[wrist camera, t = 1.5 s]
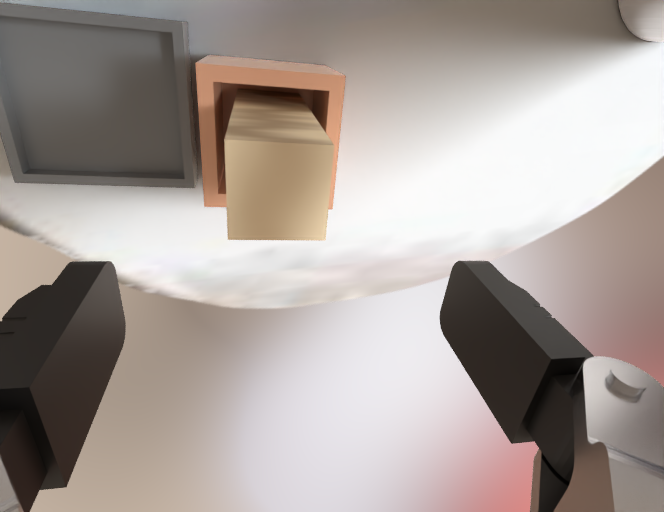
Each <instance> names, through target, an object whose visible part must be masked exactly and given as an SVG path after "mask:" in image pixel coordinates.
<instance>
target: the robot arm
mask: <svg viewBox="0 0 664 512" xmlns="http://www.w3.org/2000/svg"><path fill="white" fill-rule="evenodd" d="M618 2H619V9H620V13H621V17H622V20H623V21H624V23H625V25H626V27H627V28H628V30H630V31H631V32H632V33H633V34H634V35H635V36H636V37H638V38H641V39H643V40H645V41H654V42H664V0H618ZM551 316H552V315H551V314H550V313H549V312H548V311H546V310H545V309H544V308H543V307H540V304H539V303H538V302H537V301H536V300H535V299H534V298H533V297H532V296H531V295H530V294H529V293H528V292H527V291H525V290H524V289H522V288H520V287H519V286H517V285H515V284H514V283H512V282H510V281H508V280H507V279H506V278H505V277H504V276H503V275H502V274H501V273H500V272H499V271H498V270H497V269H496V268H495V267H494V266H493V265H492V264H491V263H490V262H488V261H458V262H456V263H455V264H454V266H453V268H452V271H451V274H450V278H449V282H448V286H447V289H446V292H445V296H444V300H443V304H442V307H441V311H440V325H441V329H442V332H443V335H444V336H445V338H446V340H447V341H448V343H449V344H450V346H451V348H452V349H453V351H454V352H455V354H456V355H457V357H458V359H459V360H460V362H461V363H462V365H463V367H464V368H465V370H466V372H467V373H468V375H469V376H470V378H471V380H472V381H473V383H474V384H475V386H476V388H477V389H478V391H479V392H480V394H481V396H482V397H483V399H484V400H485V402H486V404H487V405H488V407H489V409H490V410H491V412H492V413H493V415H494V417H495V418H496V420H497V421H498V423H499V425H500V426H501V428H502V429H503V431H504V433H505V434H506V436H507V437H508V439H509V441H510V442H511V443H512V444H513V443H522V442H532V441H535V443H536V444H537V446H538V447H539V449H538V451H537V454H536V455H535V457H534V465H533V479H532V492H531V506H530V512H664V387H663V386H662V385H661V384H660V383H658V381H656V380H655V379H654V378H653V377H651V376H650V375H649V374H647V373H646V372H644V371H643V370H641V369H639V368H637V367H635V366H633V365H631V364H629V363H627V362H624V361H621V360H618V359H615V358H610V357H602V356H596V357H594V356H593V355H592V354H591V353H590V352H589V351H588V350H587V349H586V348H585V347H584V346H583V345H582V344H581V343H580V342H579V341H578V340H577V339H576V338H575V337H574V336H573V335H571V334H570V333H569V332H568V331H567V330H566V329H565V328H564V327H563V326H562V325H561V324H560V323H559V322H558V321H557V320H556V319H555V318H552V317H551ZM124 339H125V317H124V312H123V306H122V301H121V296H120V290H119V285H118V280H117V275H116V270H115V267H114V265H113V263H112V262H110V261H91V262H70V263H69V264H68V265H67V266H66V267H65V269H64V270H63V271H62V272H61V274H60V275H59V276H58V278H57V279H56V280H55V282H54V283H53V284H52V285H41V286H40V287H38V288H37V289H35V290H33V291H31V292H30V293H28V294H27V295H25V296H23V297H22V298H20V299H18V300H17V301H16V303H15V304H14V305H13V306H12V307H11V308H10V309H9V311H8V312H7V313H6V314H5V315H4V316H3V318H2V321H0V512H30V509H31V507H32V505H33V503H34V501H35V498H36V496H37V494H38V492H39V490H44V489H54V488H63V487H67V484H68V482H69V479H70V477H71V474H72V472H73V469H74V466H75V464H76V461H77V459H78V457H79V454H80V452H81V449H82V447H83V444H84V442H85V439H86V437H87V434H88V432H89V429H90V427H91V424H92V422H93V419H94V417H95V415H96V412H97V410H98V407H99V404H100V402H101V400H102V397H103V395H104V392H105V390H106V387H107V385H108V382H109V380H110V377H111V375H112V372H113V370H114V367H115V365H116V362H117V360H118V357H119V355H120V352H121V350H122V347H123V344H124Z"/></svg>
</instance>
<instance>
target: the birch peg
mask: <svg viewBox="0 0 664 512" xmlns="http://www.w3.org/2000/svg"><path fill="white" fill-rule="evenodd" d="M224 142H225V171H226V199H227V228H228V240H325V239H326V228H327V218H328V207H329V196H330V186H331V175H332V165H333V154H334V144H333V143H332V141H331V140H330V138H329V137H328V135H327V134H326V132H325V131H324V129H323V128H322V127H321V125H320V124H319V122H318V121H317V119H316V118H315V116H314V115H313V113H312V112H311V110H310V109H309V107H308V106H307V105H306V103H305V102H304V100H303V99H302V97H301V96H300V94H299V93H290V92H277V91H264V90H251V89H238V90H237V94H236V97H235V101H234V105H233V109H232V113H231V116H230V120H229V124H228V128H227V132H226V135H225V139H224Z"/></svg>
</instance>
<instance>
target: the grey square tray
mask: <svg viewBox="0 0 664 512" xmlns="http://www.w3.org/2000/svg"><path fill="white" fill-rule="evenodd" d="M0 134H1V137H2V141H3V144H4V148H5V151H6V154H7V158H8V161H9V164H10V168H11V171H12V175H13V178H14V181H15V183H45V184H78V185H111V186H144V187H177V188H195V186H196V183H197V180H198V171H197V156H196V142H195V127H194V113H193V98H192V84H191V69H190V55H189V40H188V26H187V22H182V21H172V20H163V19H153V18H143V17H134V16H124V15H115V14H105V13H96V12H86V11H77V10H67V9H58V8H48V7H38V6H29V5H19V4H10V3H0Z"/></svg>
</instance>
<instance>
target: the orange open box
mask: <svg viewBox="0 0 664 512" xmlns="http://www.w3.org/2000/svg"><path fill="white" fill-rule="evenodd" d="M195 65H196V81H197V96H198V112H199V128H200V144H201V160H202V175H203V191H204V207H227V199H226V171H225V142H224V139H225V135H226V132H227V128H228V124H229V120H230V116H231V113H232V109H233V105H234V101H235V97H236V94H237V90H238V89H251V90H264V91H277V92H290V93H299V94H300V96H301V97H302V99H303V100H304V102H305V103H306V105H307V106H308V107H309V109H310V110H311V112H312V113H313V115H314V116H315V118H316V119H317V121H318V122H319V124H320V125H321V127H322V128H323V129H324V131H325V132H326V134H327V135H328V137H329V138H330V140H331V141H332V143H333V144H334V154H333V165H332V175H331V186H330V196H329V207H328V209H332V208H333V198H334V188H335V178H336V168H337V158H338V148H339V138H340V128H341V118H342V108H343V98H344V88H345V78H346V76H345V75H343V74H341V73H339V72H337V71H336V70H334V69H332V68H330V67H328V66H326V65H318V64H307V63H296V62H285V61H274V60H263V59H252V58H241V57H230V56H219V55H208V56H206V57H204V58H203V59H201V60H199V61H198V62H196V63H195Z"/></svg>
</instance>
